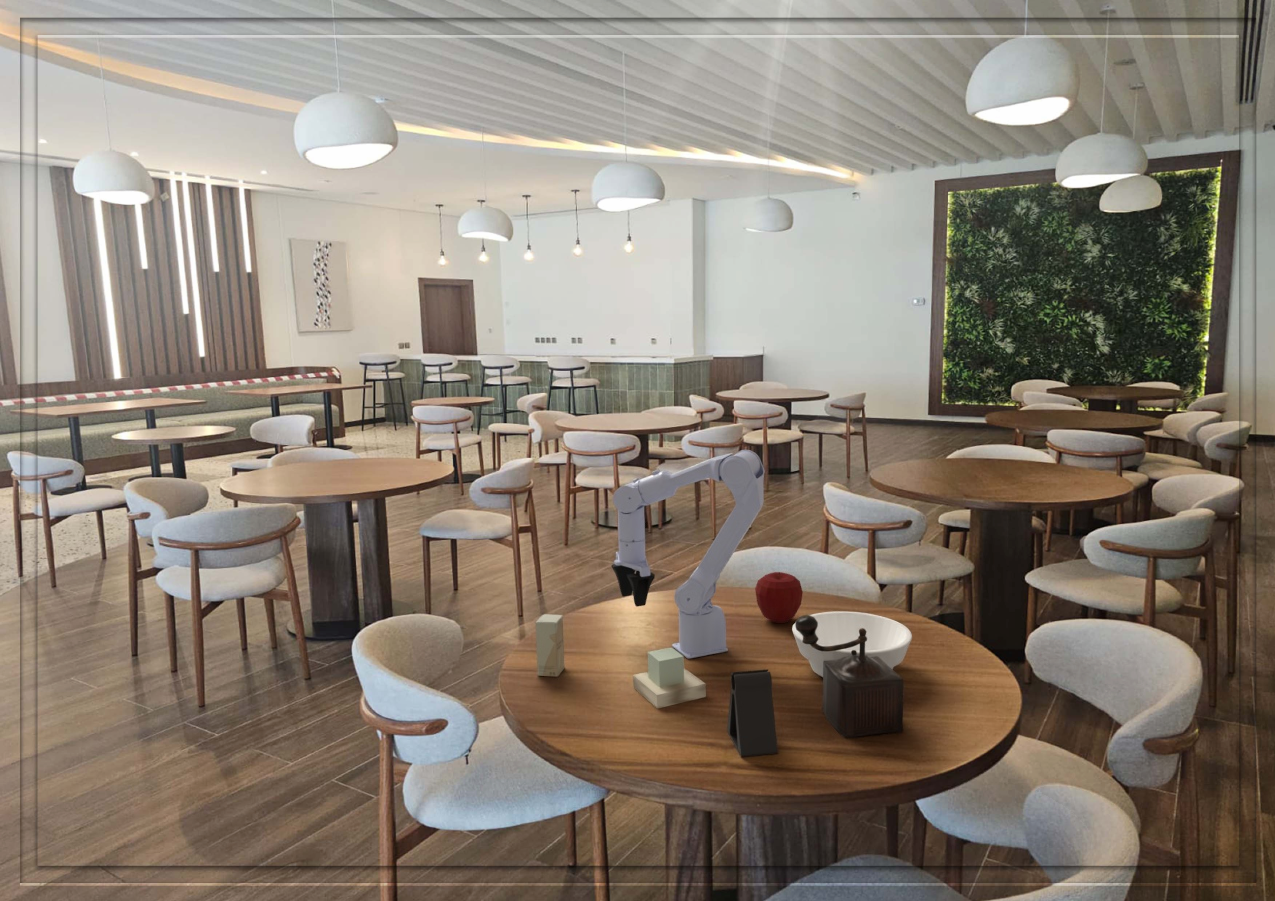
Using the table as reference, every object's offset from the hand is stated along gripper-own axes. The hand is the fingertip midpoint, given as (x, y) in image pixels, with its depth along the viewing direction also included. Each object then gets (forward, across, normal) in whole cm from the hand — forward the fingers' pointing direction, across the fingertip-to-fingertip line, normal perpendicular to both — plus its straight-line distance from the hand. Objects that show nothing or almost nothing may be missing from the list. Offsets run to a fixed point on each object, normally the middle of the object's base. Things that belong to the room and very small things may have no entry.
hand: (633, 600), depth 175 cm
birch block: (+10, +26, -4) cm, 28 cm away
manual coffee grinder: (+10, +50, +18) cm, 54 cm away
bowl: (+10, +33, +32) cm, 47 cm away
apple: (+10, +3, +35) cm, 36 cm away
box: (+10, +7, -21) cm, 24 cm away
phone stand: (+10, +49, 0) cm, 50 cm away
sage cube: (+7, +26, -4) cm, 27 cm away
